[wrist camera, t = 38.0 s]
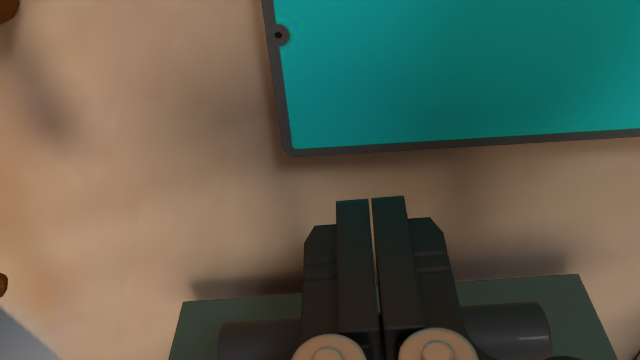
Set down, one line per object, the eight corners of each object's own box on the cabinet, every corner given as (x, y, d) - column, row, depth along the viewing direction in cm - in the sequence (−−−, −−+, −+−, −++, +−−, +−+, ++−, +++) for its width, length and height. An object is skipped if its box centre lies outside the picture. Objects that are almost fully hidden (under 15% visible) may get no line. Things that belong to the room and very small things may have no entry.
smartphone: (845, 124, 15) (283, 158, 16) (823, 108, 16) (285, 141, 17) (1029, -207, 11) (241, -136, 12) (988, -210, 12) (246, -144, 12)
